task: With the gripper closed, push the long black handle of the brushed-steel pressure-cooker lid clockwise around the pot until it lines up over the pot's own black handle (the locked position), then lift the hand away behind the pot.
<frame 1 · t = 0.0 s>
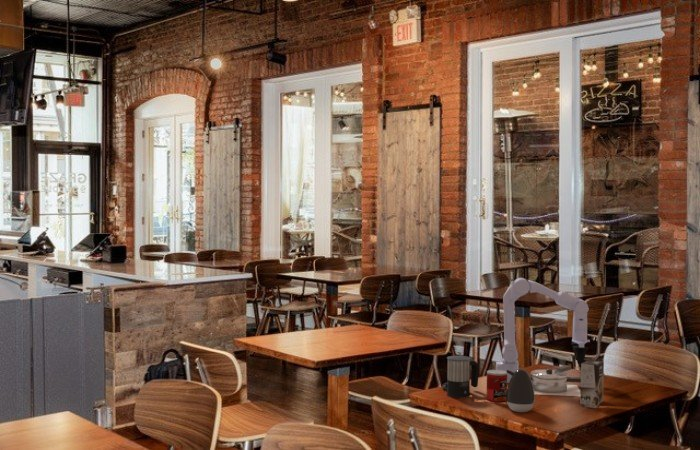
hand: (579, 362, 339), 10 cm above the table, tool pointing down, fingers open, 7 cm apart
board: (554, 391, 330), on the table
milk frother: (454, 393, 326), on the table
lid: (554, 370, 333), point 8 cm above the table, hinge at 55.0°
pump dispenser: (519, 411, 299), on the table
canned food: (496, 400, 314), on the table
coffee box: (591, 405, 309), on the table
pot: (548, 389, 330), resting on board
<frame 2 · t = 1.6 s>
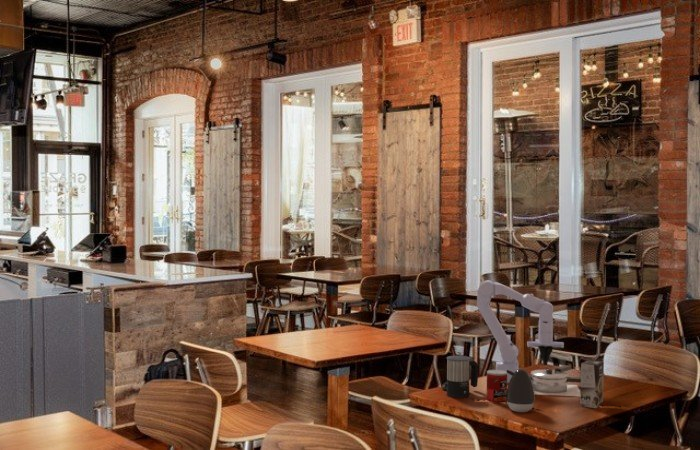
hand: (545, 364, 340), 9 cm above the table, tool pointing down, fingers closed
nothing on the table moved.
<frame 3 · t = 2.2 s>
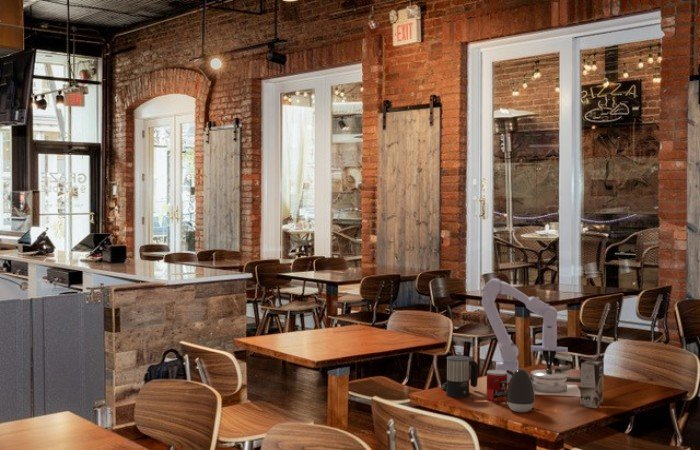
hand: (549, 369, 339), 7 cm above the table, tool pointing down, fingers closed
nothing on the table moved.
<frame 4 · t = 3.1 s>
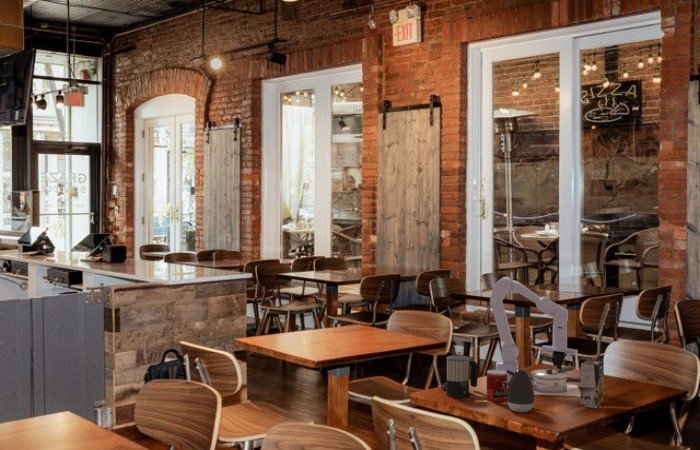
hand: (559, 370, 338), 7 cm above the table, tool pointing down, fingers closed, pressing on lid
lid: (555, 371, 332), point 8 cm above the table, hinge at 50.6°, touching gripper
everything else where it was.
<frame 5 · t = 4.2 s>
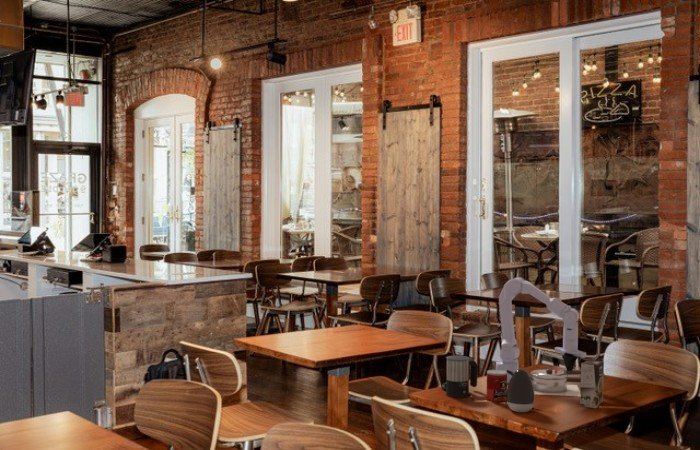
hand: (569, 372, 333), 7 cm above the table, tool pointing down, fingers closed, pressing on lid
lid: (558, 372, 330), point 8 cm above the table, hinge at 18.0°, touching gripper
everything else where it was.
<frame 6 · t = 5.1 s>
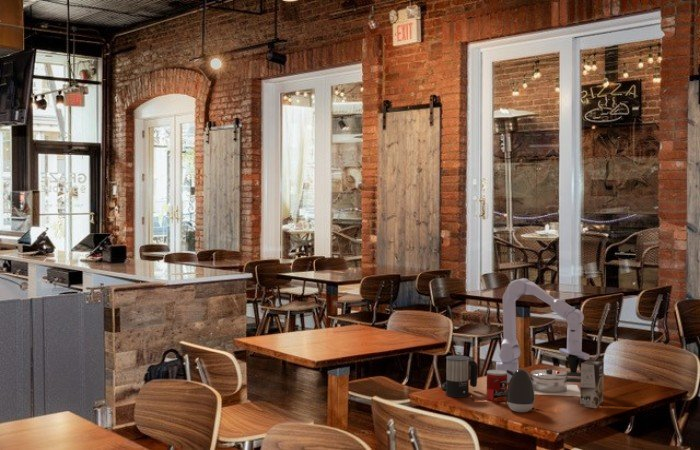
hand: (573, 374, 330), 7 cm above the table, tool pointing down, fingers closed, pressing on lid
lid: (559, 372, 329), point 8 cm above the table, hinge at -2.0°, touching gripper
everything else where it was.
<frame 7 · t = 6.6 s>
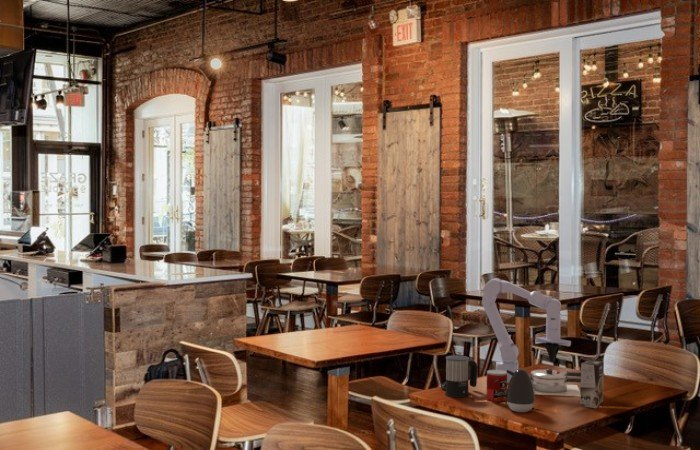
hand: (552, 361, 338), 10 cm above the table, tool pointing down, fingers closed
lid: (559, 372, 329), point 8 cm above the table, hinge at -2.2°
everything else where it was.
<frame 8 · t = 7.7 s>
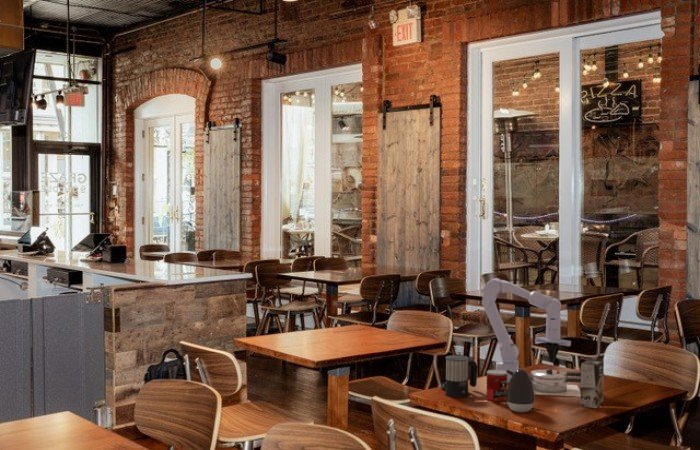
hand: (552, 361, 338), 10 cm above the table, tool pointing down, fingers closed
nothing on the table moved.
at the end: lid at -2° (first picture: +55°) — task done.
